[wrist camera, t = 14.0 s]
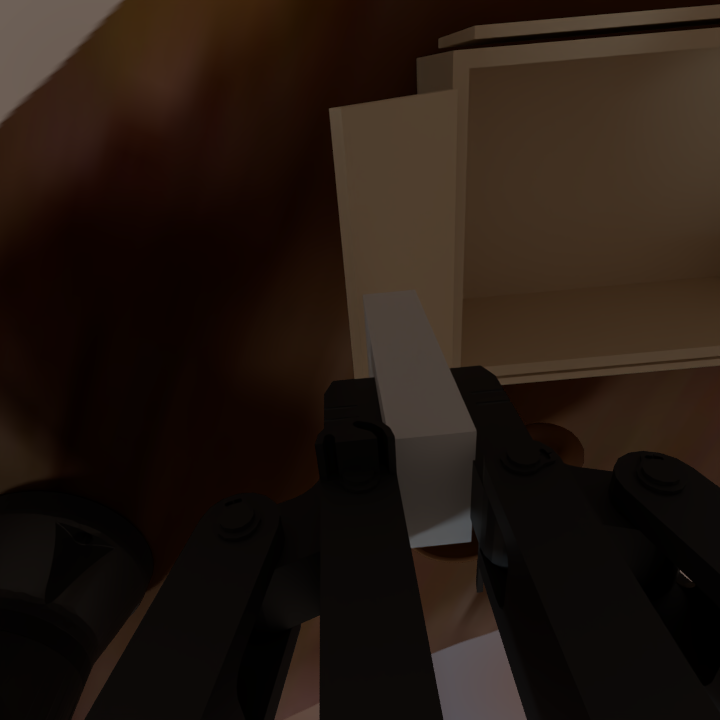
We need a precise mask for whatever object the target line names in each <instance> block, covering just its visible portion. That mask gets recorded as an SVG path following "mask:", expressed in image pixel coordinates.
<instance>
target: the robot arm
mask: <svg viewBox="0 0 720 720" xmlns="http://www.w3.org/2000/svg"><path fill="white" fill-rule="evenodd" d="M363 306H364V319H365V331H366V344H367V357H368V370H369V378H360V379H350V380H340V381H333V382H332V383H331V385H330V386H329V388H328V389H327V391H326V392H325V394H324V410H325V411H324V429H323V430H322V431H321V432H320V433H319V434H318V437H317V440H316V443H315V448H316V455H317V461H318V468H319V475H320V479H319V481H318V482H317V483H316V484H315V485H314V486H313V487H312V488H311V489H310V490H308V491H307V492H305V493H304V494H302V495H300V496H298V497H296V498H293V499H291V500H288V501H285V502H283V503H280V504H277V505H276V503H275V502H273V501H272V500H271V499H270V498H268V497H267V496H264V495H260V494H256V493H243V494H236V495H234V496H231V497H228V498H225V499H223V500H221V501H220V502H218V503H217V504H215V505H214V506H212V507H211V508H209V510H208V511H207V512H206V513H205V514H204V516H203V517H202V518H201V519H200V521H199V523H198V524H197V526H196V528H195V530H194V531H193V533H192V535H191V536H190V538H189V540H188V542H187V543H186V545H185V547H184V549H183V550H182V552H181V554H180V555H179V557H178V559H177V561H176V562H175V564H174V566H173V568H172V569H171V571H170V573H169V574H168V576H167V578H166V580H165V581H164V583H163V585H162V586H161V588H160V590H159V592H158V593H157V595H156V597H155V599H154V600H153V602H152V604H151V605H150V607H149V609H148V611H147V612H146V614H145V616H144V618H143V619H142V621H141V623H140V624H139V626H138V628H137V630H136V631H135V633H134V635H133V637H132V638H131V640H130V642H129V643H128V645H127V647H126V649H125V650H124V652H123V654H122V656H121V657H120V659H119V661H118V662H117V664H116V666H115V668H114V669H113V671H112V673H111V675H110V676H109V678H108V680H107V681H106V683H105V685H104V687H103V688H102V690H101V692H100V694H99V695H98V697H97V699H96V700H95V702H94V704H93V706H92V707H91V709H90V711H89V713H88V714H87V716H86V718H85V719H84V720H274V718H275V715H276V711H277V708H278V705H279V701H280V698H281V694H282V691H283V687H284V684H285V680H286V677H287V673H288V670H289V666H290V663H291V659H292V656H293V652H294V649H295V645H296V642H297V638H298V635H299V631H300V628H301V623H303V622H305V621H308V620H310V619H312V618H314V617H317V616H319V615H320V720H443V715H442V710H441V705H440V700H439V694H438V689H437V684H436V679H435V673H434V668H433V663H432V657H431V652H430V647H429V641H428V636H427V631H426V626H425V620H424V615H423V610H422V604H421V599H420V594H419V589H418V583H417V578H416V573H415V567H414V562H413V557H412V552H411V548H417V547H426V546H436V545H446V544H455V543H465V542H471V534H472V525H473V528H474V531H475V534H476V537H477V540H478V559H477V575H476V587H477V593H478V592H483V582H484V585H485V588H486V591H487V594H488V598H489V601H490V604H491V607H492V610H493V613H494V617H495V620H496V623H497V626H498V629H499V632H500V636H501V639H502V642H503V645H504V648H505V651H506V655H507V658H508V661H509V664H510V667H511V671H512V674H513V677H514V680H515V683H516V686H517V690H518V693H519V696H520V699H521V702H522V705H523V709H524V712H525V715H526V718H527V720H720V488H719V487H718V486H717V485H715V484H714V483H713V482H711V481H710V480H709V479H707V478H706V477H705V476H703V475H702V474H701V473H699V472H698V471H696V470H695V469H694V468H692V467H691V466H689V465H687V464H685V463H684V462H682V461H680V460H679V459H677V458H674V457H671V456H668V455H664V454H661V453H656V452H647V451H639V452H631V453H627V454H626V455H624V456H622V457H620V458H618V460H617V462H616V464H615V466H614V469H613V471H605V470H597V469H589V468H582V467H577V466H572V465H568V464H565V463H564V462H563V461H562V459H561V457H560V456H559V455H558V454H557V453H556V452H555V451H554V450H553V449H552V448H550V447H548V446H547V445H545V444H543V443H541V442H539V441H535V440H533V439H532V437H531V435H530V434H529V432H528V430H527V428H526V427H525V425H524V423H523V422H522V420H521V418H520V416H519V415H518V413H517V411H516V410H515V408H514V406H513V404H512V403H511V402H510V399H509V398H508V396H507V394H506V392H505V391H503V387H502V386H501V384H500V382H499V380H498V379H497V377H496V376H495V375H494V374H493V373H491V372H490V371H488V370H487V369H485V368H484V367H482V366H481V365H478V366H468V367H458V368H449V366H448V364H447V362H446V360H445V357H444V355H443V353H442V350H441V348H440V346H439V343H438V341H437V339H436V337H435V334H434V332H433V330H432V327H431V325H430V323H429V321H428V318H427V316H426V314H425V311H424V309H423V307H422V305H421V302H420V300H419V298H418V295H417V293H416V291H415V290H406V291H395V292H384V293H374V294H363ZM680 570H681V571H682V572H683V573H684V574H685V575H686V576H687V577H688V578H689V579H690V580H692V582H691V581H690V580H689V579H687V578H686V577H685V576H684V575H683V574H681V573H680V572H679V571H680ZM152 571H153V558H152V554H151V551H150V548H149V546H148V544H147V542H146V541H145V539H144V538H143V536H142V535H141V534H140V533H139V531H138V530H137V529H136V528H135V527H134V526H133V525H131V524H130V523H129V522H128V521H127V520H125V519H124V518H123V517H121V516H120V515H118V514H117V513H115V512H113V511H112V510H110V509H108V508H106V507H104V506H102V505H100V504H97V503H95V502H92V501H90V500H87V499H84V498H80V497H77V496H73V495H69V494H63V493H57V492H48V491H26V492H17V493H12V494H7V495H3V496H0V720H71V719H72V716H73V714H74V711H75V709H76V706H77V704H78V701H79V699H80V696H81V694H82V691H83V689H84V686H85V684H86V681H87V679H88V676H89V674H90V672H91V669H92V667H93V665H94V663H95V662H96V661H97V659H98V658H99V657H100V655H101V654H102V653H103V651H104V650H105V649H106V648H107V646H108V645H109V644H110V642H111V641H112V640H113V638H114V637H115V636H116V634H117V633H118V632H119V630H120V629H121V628H122V626H123V625H124V624H125V622H126V621H127V619H128V618H129V617H130V616H131V615H132V614H133V613H134V612H135V610H136V609H137V608H138V606H139V605H140V603H141V601H142V599H143V597H144V595H145V592H146V589H147V586H148V584H149V581H150V578H151V575H152Z"/></svg>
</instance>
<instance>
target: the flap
mask: <svg viewBox="0 0 720 720" xmlns="http://www.w3.org/2000/svg"><path fill="white" fill-rule="evenodd" d="M457 103H458V89H448V90H442V91H435V92H429V93H423V94H416V95H410V96H404V97H398V98H391V99H385V100H379V101H373V102H366V103H360V104H354V105H347V106H341V107H335V108H329V115H330V125H331V136H332V146H333V157H334V167H335V178H336V188H337V199H338V209H339V220H340V230H341V240H342V251H343V261H344V272H345V282H346V293H347V303H348V314H349V324H350V335H351V345H352V356H353V366H354V377H355V379H360V378H369V370H368V357H367V344H366V331H365V319H364V306H363V294H374V293H384V292H395V291H406V290H415V291H416V293H417V295H418V298H419V300H420V302H421V305H422V307H423V309H424V311H425V314H426V316H427V318H428V321H429V323H430V325H431V327H432V330H433V332H434V334H435V337H436V339H437V341H438V343H439V346H440V348H441V350H442V353H443V355H444V357H445V360H446V362H447V364H448V366H449V368H451V367H452V353H453V303H454V253H455V203H456V153H457Z"/></svg>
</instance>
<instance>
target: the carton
mask: <svg viewBox="0 0 720 720" xmlns="http://www.w3.org/2000/svg"><path fill="white" fill-rule="evenodd" d="M714 24H720V4H719V5H707V6H696V7H684V8H673V9H661V10H650V11H638V12H627V13H615V14H603V15H592V16H580V17H569V18H557V19H546V20H534V21H523V22H511V23H500V24H488V25H477V26H473V27H470V28H467V29H464V30H461V31H458V32H456V33H453V34H450V35H447V36H444V37H441V38H439V39H438V48H449V47H461V46H472V45H484V44H495V43H507V42H518V41H530V40H541V39H553V38H564V37H576V36H587V35H599V34H610V33H622V32H633V31H645V30H656V29H668V28H679V27H691V26H702V25H714ZM416 61H417V94H423V93H429V92H435V91H442V90H448V89H458V103H457V153H456V203H455V253H454V303H453V353H452V367H451V368H458V367H468V366H478V365H481V366H482V367H484V368H485V369H487V370H488V371H490V372H491V373H493V374H494V375H495V376H496V377H497V379H498V380H499V382H500V384H501V385H507V384H518V383H530V382H541V381H552V380H563V379H574V378H585V377H596V376H607V375H618V374H629V373H641V372H652V371H663V370H674V369H685V368H696V367H707V366H718V365H720V27H718V28H707V29H695V30H684V31H672V32H661V33H649V34H638V35H626V36H615V37H603V38H592V39H580V40H569V41H557V42H546V43H534V44H523V45H511V46H500V47H488V48H477V49H465V50H454V51H449V52H444V53H439V54H435V55H430V56H425V57H420V58H416Z"/></svg>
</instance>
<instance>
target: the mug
mask: <svg viewBox="0 0 720 720" xmlns="http://www.w3.org/2000/svg"><path fill="white" fill-rule="evenodd" d="M525 427H526V428H527V430H528V432H529V434H530V435H531V437H532V439H533V440H535V441H539V442H541V443H543V444H545V445H547V446H548V447H550V448H552V449H553V450H554V451H555V452H556V453H557V454H558V455H559V456H560V457H561V459H562V461H563V462H564V463H565V464H568V465H572V466H577V467H582V466H583V464H584V449H583V447H582V445H581V443H580V441H579V439H578V438H577V437H576V436H575V435H574V434H573V433H572V432H570V431H569V430H567V429H565V428H563V427H561V426H558V425H555V424H550V423H534V424H528V425H525ZM413 549H414V550H415V551H416V552H418V553H419V554H421V555H422V556H424V557H427V558H429V559H432V560H435V561H440V562H446V563H463V562H470V561H474V560H477V559H478V540H477V537H476V534H475V531H474V528H473V525H472V534H471V542H465V543H455V544H446V545H436V546H426V547H417V548H413Z"/></svg>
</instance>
